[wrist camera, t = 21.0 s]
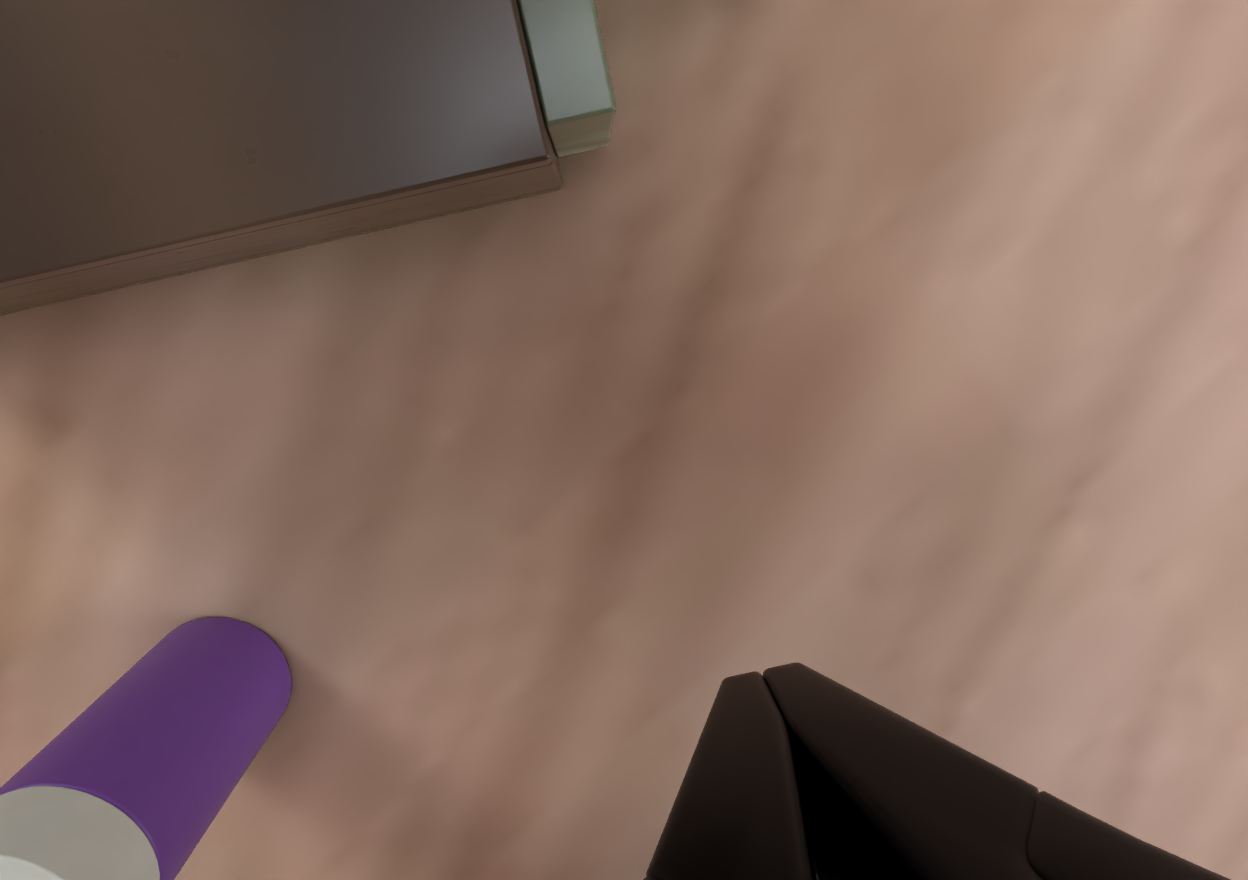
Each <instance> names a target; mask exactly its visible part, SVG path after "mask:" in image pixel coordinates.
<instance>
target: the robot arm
mask: <svg viewBox="0 0 1248 880" xmlns="http://www.w3.org/2000/svg"><path fill="white" fill-rule="evenodd" d="M644 880H1230V879H1228V878H1226V877H1223V876H1221V875H1219V874H1216V873H1214V872H1211V871H1209V870H1207V869H1205V868H1202V867H1200V866H1198V865H1196V864H1193V863H1191V862H1189V861H1187V860H1185V859H1182V858H1180V857H1178V856H1176V855H1173V854H1171V853H1169V852H1167V851H1164V850H1162V849H1160V848H1158V847H1155V846H1153V845H1151V844H1149V843H1146V842H1144V841H1142V840H1140V839H1138V838H1136V837H1134V836H1132V835H1130V834H1127V833H1125V832H1123V831H1121V830H1119V829H1117V828H1115V827H1113V826H1111V825H1109V824H1107V823H1105V822H1103V821H1101V820H1099V819H1097V818H1095V817H1093V816H1091V815H1089V814H1087V813H1085V812H1083V811H1081V810H1079V809H1077V808H1075V807H1073V806H1072V805H1070V804H1068V803H1066V802H1064V801H1062V800H1060V799H1058V798H1056V797H1054V796H1053V795H1051V794H1049V793H1047V792H1044V791H1041V792H1039V791H1038V789H1037V788H1036V787H1035V786H1033V785H1031V784H1029V783H1027V782H1025V781H1023V780H1022V779H1020V778H1018V777H1016V776H1014V775H1012V774H1010V773H1008V772H1006V771H1004V770H1003V769H1001V768H999V767H997V766H995V765H993V764H991V763H989V762H987V761H985V760H984V759H982V758H980V757H978V756H976V755H974V754H972V753H970V752H968V751H966V750H965V749H963V748H961V747H959V746H957V745H955V744H953V743H951V742H949V741H947V740H946V739H944V738H942V737H940V736H938V735H936V734H934V733H932V732H930V731H928V730H927V729H925V728H923V727H921V726H919V725H917V724H915V723H913V722H911V721H909V720H908V719H906V718H904V717H902V716H900V715H898V714H896V713H894V712H892V711H890V710H889V709H887V708H885V707H883V706H881V705H879V704H877V703H875V702H873V701H871V700H870V699H868V698H866V697H864V696H862V695H860V694H858V693H856V692H854V691H852V690H851V689H849V688H847V687H845V686H843V685H841V684H839V683H837V682H835V681H833V680H832V679H830V678H828V677H826V676H824V675H822V674H820V673H818V672H816V671H814V670H813V669H811V668H809V667H807V666H805V665H803V664H801V663H791V664H786V665H782V666H777V667H772V668H768V669H766V670H765V671H764V672H763V675H761V674H760V673H759V672H750V673H745V674H740V675H736V676H731V677H727V678H725V679H724V680H723V681H722V684H721V686H720V688H719V691H718V694H717V696H716V699H715V701H714V704H713V706H712V709H711V711H710V714H709V716H708V719H707V721H706V724H705V726H704V729H703V731H702V734H701V736H700V739H699V742H698V744H697V747H696V749H695V752H694V754H693V757H692V759H691V762H690V764H689V767H688V769H687V772H686V774H685V777H684V779H683V782H682V784H681V787H680V790H679V792H678V795H677V797H676V800H675V802H674V805H673V807H672V810H671V812H670V815H669V817H668V820H667V822H666V825H665V827H664V830H663V833H662V835H661V838H660V840H659V843H658V845H657V848H656V850H655V853H654V855H653V858H652V860H651V863H650V865H649V868H648V870H647V873H646V878H645V879H644Z"/></svg>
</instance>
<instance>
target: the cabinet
mask: <svg viewBox="0 0 1248 880" xmlns="http://www.w3.org/2000/svg"><path fill="white" fill-rule="evenodd" d="M561 188H563V182H562V178H561V173H560V169H559V164H558V160H557V156H556V154H555V151H554V148H553V146H552V143H551V140H550V137H549V135H548V132H547V129H546V126H545V124H544V120H543V115H542V111H541V106H540V102H539V98H538V93H537V89H536V84H535V80H534V76H533V71H532V67H531V62H530V58H529V53H528V49H527V45H526V40H525V36H524V31H523V27H522V23H521V18H520V14H519V9H518V5H517V0H0V315H4V314H8V313H13V312H17V311H22V310H26V309H31V308H35V307H40V306H44V305H48V304H53V303H57V302H62V301H66V300H71V299H75V298H80V297H84V296H89V295H93V294H97V293H102V292H106V291H111V290H115V289H120V288H124V287H129V286H133V285H137V284H142V283H146V282H151V281H155V280H160V279H164V278H169V277H173V276H177V275H182V274H186V273H191V272H195V271H200V270H204V269H209V268H213V267H218V266H222V265H226V264H231V263H235V262H240V261H244V260H249V259H253V258H258V257H262V256H266V255H271V254H275V253H280V252H284V251H289V250H293V249H298V248H302V247H306V246H311V245H315V244H320V243H324V242H329V241H333V240H338V239H342V238H347V237H351V236H355V235H360V234H364V233H369V232H373V231H378V230H382V229H387V228H391V227H395V226H400V225H404V224H409V223H413V222H418V221H422V220H427V219H431V218H436V217H440V216H444V215H449V214H453V213H458V212H462V211H467V210H471V209H476V208H480V207H484V206H489V205H493V204H498V203H502V202H507V201H511V200H516V199H520V198H524V197H529V196H533V195H538V194H542V193H547V192H551V191H556V190H560V189H561Z"/></svg>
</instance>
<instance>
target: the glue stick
mask: <svg viewBox="0 0 1248 880" xmlns="http://www.w3.org/2000/svg"><path fill="white" fill-rule="evenodd" d="M290 694H291V675H290V670H289V667H288V664H287V661H286V659H285V657H284V655H283V653H282V652H281V650H280V649H279V647H278V646H277V645H276V644H275V642H273V641H272V640H271V639H270V638H269V637H268V636H267V635H266V634H265V633H263V632H262V631H260V630H259V629H257V628H255V627H254V626H252V625H250V624H247V623H245V622H242V621H239V620H236V619H231V618H224V617H207V618H201V619H196V620H193V621H189V622H187V623H185V624H182V625H181V626H179V627H177V628H176V629H174V630H173V631H171V632H170V633H169V634H168V635H167V636H166V637H165V638H163V639H162V640H161V641H160V642H159V643H158V644H157V645H156V646H155V647H154V648H153V649H151V650H150V651H149V652H148V653H147V654H146V655H145V656H144V657H143V658H142V659H141V660H139V661H138V662H137V663H136V664H135V665H134V666H133V667H132V668H131V669H130V670H129V671H127V672H126V673H125V674H124V675H123V676H122V677H121V678H120V679H119V680H118V681H117V682H116V683H114V684H113V685H112V686H111V687H110V688H109V689H108V690H107V691H106V692H105V693H104V694H102V695H101V696H100V697H99V698H98V699H97V700H96V701H95V702H94V703H93V704H92V705H90V706H89V707H88V708H87V709H86V710H85V711H84V712H83V713H82V714H81V715H80V716H78V717H77V718H76V719H75V720H74V721H73V722H72V723H71V724H70V725H69V726H68V727H66V728H65V729H64V730H63V731H62V732H61V733H60V734H59V735H58V736H57V737H56V738H55V739H53V740H52V741H51V742H50V743H49V744H48V745H47V746H46V747H45V748H44V749H43V750H41V751H40V752H39V753H38V754H37V755H36V756H35V757H34V758H33V759H32V760H31V761H29V762H28V763H27V764H26V765H25V766H24V767H23V768H22V769H21V770H20V771H19V772H17V773H16V774H15V775H14V776H13V777H12V778H11V779H10V780H9V781H8V782H7V783H6V784H4V785H3V786H2V787H1V788H0V880H174V879H175V877H176V876H177V874H178V873H179V871H180V870H181V868H182V867H183V865H184V864H185V862H186V861H187V859H188V858H189V856H190V855H191V853H192V851H193V850H194V848H195V847H196V845H197V844H198V842H199V841H200V839H201V838H202V836H203V835H204V833H205V832H206V830H207V829H208V827H209V826H210V824H211V823H212V821H213V820H214V818H215V816H216V815H217V813H218V812H219V810H220V809H221V807H222V806H223V804H224V803H225V801H226V800H227V798H228V797H229V795H230V794H231V792H232V791H233V789H234V788H235V786H236V785H237V783H238V781H239V780H240V778H241V777H242V775H243V774H244V772H245V771H246V769H247V768H248V766H249V765H250V763H251V762H252V760H253V759H254V757H255V756H256V754H257V753H258V751H259V749H260V748H261V746H262V745H263V743H264V742H265V740H266V739H267V737H268V736H269V734H270V733H271V731H272V730H273V728H274V727H275V725H276V724H277V722H278V721H279V719H280V718H281V716H282V714H283V713H284V711H285V709H286V707H287V705H288V702H289V699H290Z"/></svg>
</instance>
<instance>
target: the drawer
mask: <svg viewBox="0 0 1248 880" xmlns="http://www.w3.org/2000/svg"><path fill="white" fill-rule="evenodd" d="M517 5H518V9H519V14H520V18H521V23H522V27H523V31H524V36H525V40H526V45H527V49H528V53H529V58H530V62H531V67H532V71H533V76H534V80H535V84H536V89H537V93H538V98H539V102H540V106H541V111H542V115H543V120H544V124H545V126H546V129H547V132H548V135H549V137H550V140H551V143H552V146H553V148H554V151H555V154H556V156H557V157H562V156H567V155H571V154H576V153H580V152H585V151H589V150H593V149H598V148H602V147H607V146H608V145H609V141H610V135H611V130H612V125H613V119H614V114H615V109H616V105H615V100H614V95H613V90H612V85H611V80H610V76H609V71H608V66H607V61H606V56H605V51H604V46H603V42H602V37H601V32H600V27H599V22H598V17H597V12H596V8H595V3H594V0H517Z"/></svg>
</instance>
